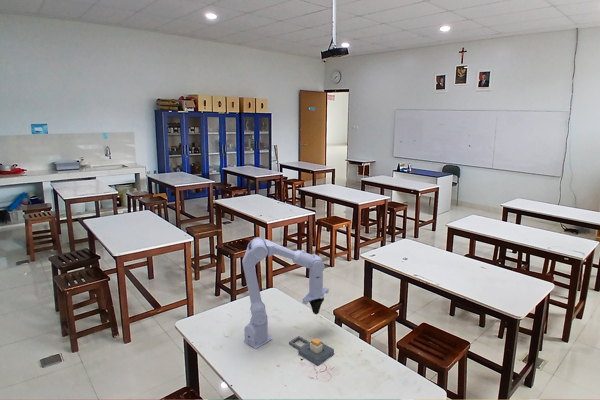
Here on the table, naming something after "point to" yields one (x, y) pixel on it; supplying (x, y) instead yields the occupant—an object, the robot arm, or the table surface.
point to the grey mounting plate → (297, 340)
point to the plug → (316, 346)
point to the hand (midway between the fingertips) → (315, 313)
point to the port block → (314, 357)
